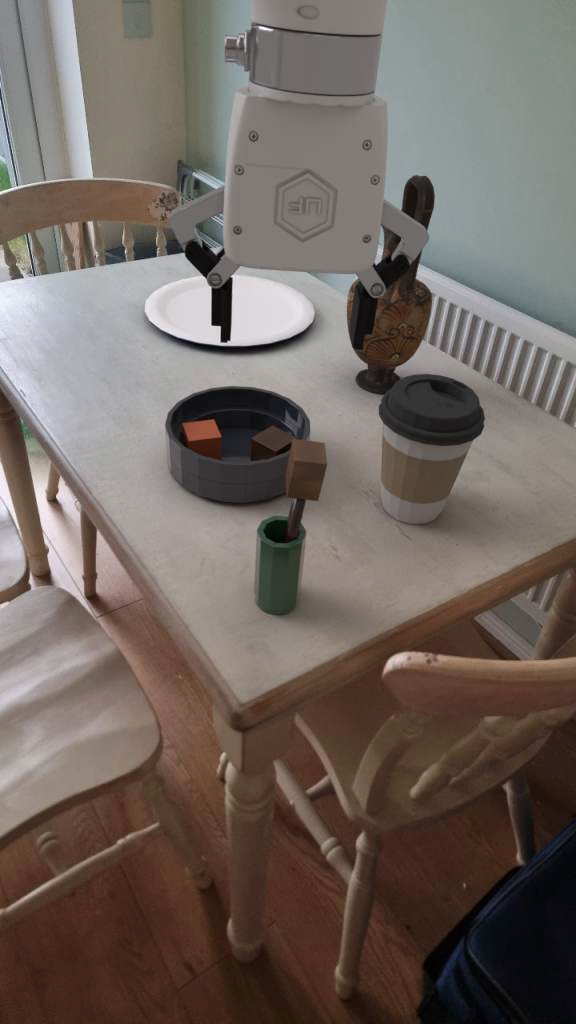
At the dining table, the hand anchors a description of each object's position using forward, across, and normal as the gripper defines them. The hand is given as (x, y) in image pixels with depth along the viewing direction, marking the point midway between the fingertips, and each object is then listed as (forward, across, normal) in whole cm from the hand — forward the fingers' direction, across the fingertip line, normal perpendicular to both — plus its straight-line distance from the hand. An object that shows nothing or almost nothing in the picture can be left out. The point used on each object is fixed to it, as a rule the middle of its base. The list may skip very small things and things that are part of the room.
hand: (291, 338), depth 51 cm
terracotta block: (+28, -8, +24) cm, 37 cm away
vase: (+28, +17, +45) cm, 55 cm away
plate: (+28, -6, +67) cm, 73 cm away
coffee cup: (+28, +17, +16) cm, 36 cm away
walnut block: (+27, +1, +22) cm, 35 cm away
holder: (+28, +1, 0) cm, 28 cm away
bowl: (+28, -4, +23) cm, 37 cm away
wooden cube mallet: (+28, +1, 0) cm, 28 cm away
